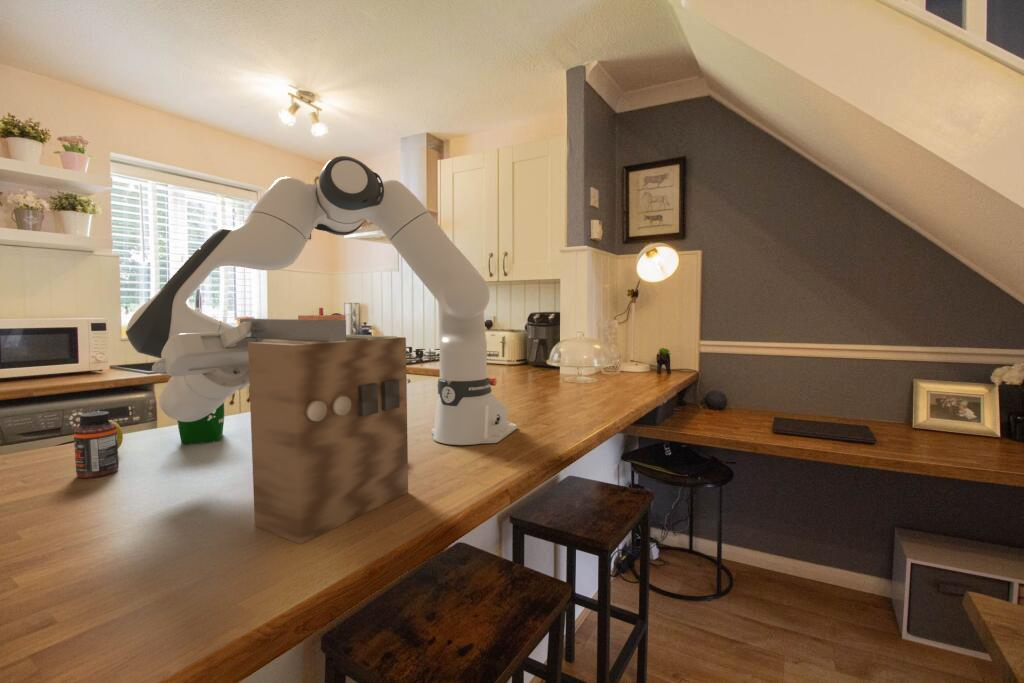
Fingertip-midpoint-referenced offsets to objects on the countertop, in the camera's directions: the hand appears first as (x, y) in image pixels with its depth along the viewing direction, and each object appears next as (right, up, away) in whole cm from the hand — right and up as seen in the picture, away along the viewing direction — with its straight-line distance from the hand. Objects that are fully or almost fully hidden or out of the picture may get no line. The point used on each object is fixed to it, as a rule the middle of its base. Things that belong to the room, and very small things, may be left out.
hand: (264, 325), depth 70 cm
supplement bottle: (-40, -27, +17) cm, 51 cm away
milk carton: (-35, -26, +40) cm, 59 cm away
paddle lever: (+5, -2, -3) cm, 7 cm away
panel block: (+11, -28, +1) cm, 30 cm away
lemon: (-47, -26, +27) cm, 60 cm away
